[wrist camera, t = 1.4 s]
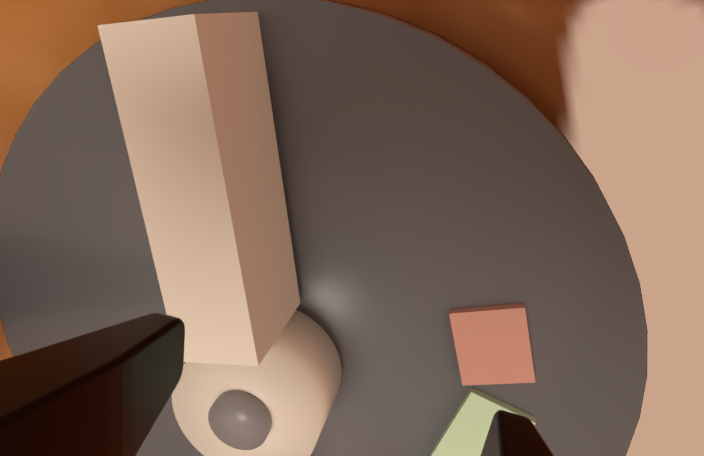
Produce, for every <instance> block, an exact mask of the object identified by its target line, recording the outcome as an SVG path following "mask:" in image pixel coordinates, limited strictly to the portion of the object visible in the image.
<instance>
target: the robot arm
mask: <svg viewBox="0 0 704 456" xmlns="http://www.w3.org/2000/svg"><path fill="white" fill-rule="evenodd" d="M184 341H185V325H184V322H183V321H182V320H181V319H180V318H177V317H173V316H170V315H166V314H163V313H159V312H154V313H150V314H147V315H144V316H141V317H138V318H135V319H131V320H128V321H125V322H122V323H119V324H116V325H112V326H109V327H106V328H103V329H100V330H97V331H93V332H90V333H87V334H84V335H81V336H77V337H74V338H71V339H68V340H65V341H62V342H58V343H55V344H52V345H49V346H46V347H43V348H39V349H36V350H33V351H30V352H27V353H24V354H20V355H17V356H14V357H11V358H8V359H5V360H1V361H0V456H136V454H137V452H138V451H139V449H140V447H141V446H142V444H143V442H144V441H145V439H146V437H147V435H148V434H149V432H150V430H151V429H152V427H153V425H154V424H155V422H156V420H157V418H158V417H159V415H160V413H161V412H162V410H163V408H164V407H165V405H166V403H167V401H168V400H169V398H170V396H171V395H172V393H173V391H174V390H175V388H176V386H177V384H178V382H179V380H180V378H181V375H182V371H183V363H184ZM481 456H554V455H553V453H552V452H551V450H550V449H549V447H548V446H547V444H546V443H545V441H544V440H543V438H542V437H541V435H540V433H539V432H538V430H537V429H536V427H535V426H534V424H533V423H532V422H531V420H530V419H529V418H527V417H525V416H521V415H518V414H514V413H511V412H507V411H504V410H498V411H497V412H496V413H495V414H494V416H493V419H492V422H491V425H490V428H489V431H488V434H487V437H486V440H485V443H484V446H483V450H482V453H481Z"/></svg>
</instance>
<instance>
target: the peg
mask: <svg viewBox="0 0 704 456" xmlns="http://www.w3.org/2000/svg"><path fill="white" fill-rule="evenodd" d="M97 26H98V30H99V34H100V38H101V42H102V46H103V51H104V55H105V59H106V63H107V67H108V72H109V76H110V80H111V84H112V88H113V92H114V97H115V101H116V105H117V109H118V113H119V118H120V122H121V126H122V130H123V134H124V139H125V143H126V147H127V151H128V155H129V159H130V164H131V168H132V172H133V176H134V180H135V185H136V189H137V193H138V197H139V201H140V205H141V210H142V214H143V218H144V222H145V226H146V231H147V235H148V239H149V243H150V247H151V252H152V256H153V260H154V264H155V268H156V272H157V277H158V281H159V285H160V289H161V293H162V298H163V302H164V306H165V310H166V314H167V315H170V316H173V317H177V318H180V319H181V320H182V321H183V322H184V325H185V341H184V362H186V363H185V364H184V365H183V371H182V375H181V378H180V380H179V382H178V384H177V386H176V388H175V390H174V391H173V393H172V406H173V411H174V414H175V417H176V420H177V422H178V424H179V426H180V428H181V430H182V432H183V433H184V435H185V436H186V437H187V439H188V440H189V441H190V443H191V444H192V445H193V446H194V447H195V448H196V449H197V450H198V451H199V452H200V453H201V454H203V455H204V456H310V455H311V454H312V452H313V449H314V447H315V445H316V443H317V440H318V438H319V435H320V433H321V431H322V428H323V426H324V423H325V421H326V419H327V416H328V414H329V412H330V409H331V407H332V404H333V402H334V400H335V397H336V395H337V392H338V390H339V387H340V383H341V377H342V368H341V362H340V357H339V355H338V352H337V349H336V347H335V345H334V343H333V342H332V340H331V339H330V337H329V336H328V334H327V333H326V332H325V331H324V330H323V328H322V327H320V326H319V325H318V324H317V323H316V322H315V321H314V320H312V319H311V318H310V317H308V316H307V315H305V314H303V313H302V312H300V311H298V310H296V309H297V308H298V306H299V305H300V297H299V290H298V283H297V276H296V270H295V263H294V256H293V249H292V242H291V236H290V229H289V222H288V215H287V208H286V202H285V195H284V188H283V181H282V174H281V167H280V161H279V154H278V147H277V140H276V133H275V127H274V120H273V113H272V106H271V99H270V93H269V86H268V79H267V72H266V65H265V59H264V52H263V45H262V38H261V31H260V25H259V18H258V12H235V13H209V14H190V15H182V16H173V17H165V18H156V19H148V20H139V21H131V22H122V23H114V24H105V25H97Z"/></svg>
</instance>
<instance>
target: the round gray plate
mask: <svg viewBox="0 0 704 456" xmlns="http://www.w3.org/2000/svg"><path fill="white" fill-rule="evenodd" d="M235 12H258V18H259V25H260V31H261V38H262V45H263V52H264V59H265V65H266V72H267V79H268V86H269V93H270V99H271V106H272V113H273V120H274V127H275V133H276V140H277V147H278V154H279V161H280V167H281V174H282V181H283V188H284V195H285V202H286V208H287V215H288V222H289V229H290V236H291V242H292V249H293V256H294V263H295V270H296V276H297V283H298V290H299V297H300V305H299V306H298V308H297V309H296V310H298V311H300V312H302V313H303V314H305V315H307V316H308V317H310V318H311V319H312V320H314V321H315V322H316V323H317V324H318V325H319V326H320V327H322V328H323V330H324V331H325V332H326V333H327V334H328V336H329V337H330V339H331V340H332V342H333V343H334V345H335V347H336V349H337V352H338V355H339V357H340V362H341V368H342V377H341V383H340V387H339V390H338V392H337V395H336V397H335V400H334V402H333V404H332V407H331V409H330V412H329V414H328V416H327V419H326V421H325V423H324V426H323V428H322V431H321V433H320V435H319V438H318V440H317V443H316V445H315V447H314V449H313V452H312V454H311V455H310V456H481V453H482V450H483V446H484V443H485V440H486V437H487V434H488V431H489V428H490V425H491V422H492V419H493V416H494V414H495V413H496V412H497V411H498V410H504V411H507V412H511V413H514V414H518V415H521V416H525V417H527V418H529V419H530V420H531V422H532V423H533V424H534V426H535V427H536V429H537V430H538V432H539V433H540V435H541V437H542V438H543V440H544V441H545V443H546V444H547V446H548V447H549V449H550V450H551V452H552V453H553V455H554V456H626V454H627V451H628V448H629V446H630V442H631V440H632V437H633V435H634V432H635V429H636V426H637V423H638V421H639V418H640V413H641V407H642V401H643V396H644V390H645V384H646V378H647V325H646V319H645V313H644V307H643V300H642V294H641V288H640V283H639V280H638V277H637V274H636V271H635V268H634V265H633V262H632V258H631V256H630V253H629V249H628V247H627V244H626V240H625V237H624V235H623V233H622V231H621V229H620V227H619V225H618V223H617V221H616V219H615V217H614V215H613V213H612V212H611V209H610V207H609V205H608V204H607V202H606V200H605V198H604V196H603V194H602V192H601V190H600V188H599V186H598V184H597V183H596V181H595V179H594V177H593V175H592V174H591V173H590V171H589V170H588V168H587V167H586V166H585V164H584V163H583V161H582V160H581V159H580V157H579V156H578V154H577V153H576V152H575V150H574V149H573V147H572V146H571V145H570V143H569V142H568V140H567V139H566V138H565V136H564V135H563V134H562V133H561V132H560V131H559V130H558V128H557V127H556V126H555V125H554V124H553V123H552V122H551V121H550V120H549V119H548V118H547V117H546V116H545V115H544V114H543V113H542V112H541V111H540V110H539V109H538V108H537V107H536V105H535V104H534V103H533V102H532V101H531V100H530V99H529V98H528V97H527V96H526V95H524V94H523V93H522V92H521V91H519V90H518V89H517V88H516V87H514V86H513V85H512V84H511V83H509V82H508V81H507V80H505V79H504V78H503V77H502V76H500V75H499V74H498V73H497V72H495V71H494V70H493V69H491V68H490V67H489V66H488V65H486V64H485V63H484V62H482V61H480V60H479V59H477V58H475V57H474V56H472V55H470V54H468V53H467V52H465V51H463V50H462V49H460V48H458V47H456V46H455V45H453V44H451V43H450V42H448V41H446V40H444V39H443V38H441V37H439V36H438V35H436V34H433V33H431V32H428V31H426V30H423V29H421V28H418V27H416V26H414V25H411V24H409V23H406V22H404V21H401V20H399V19H396V18H394V17H392V16H389V15H387V14H383V13H379V12H375V11H371V10H367V9H363V8H359V7H355V6H351V5H347V4H343V3H339V2H335V1H325V0H209V1H204V2H199V3H194V4H190V5H185V6H180V7H175V8H171V9H168V10H166V11H163V12H160V13H158V14H155V15H153V16H150V17H147V18H145V19H142V20H148V19H156V18H165V17H173V16H182V15H190V14H209V13H235ZM154 312H159V313H163V314H166V310H165V306H164V302H163V298H162V293H161V289H160V285H159V281H158V277H157V272H156V268H155V264H154V260H153V256H152V252H151V247H150V243H149V239H148V235H147V231H146V226H145V222H144V218H143V214H142V210H141V205H140V201H139V197H138V193H137V189H136V185H135V180H134V176H133V172H132V168H131V164H130V159H129V155H128V151H127V147H126V143H125V139H124V134H123V130H122V126H121V122H120V118H119V113H118V109H117V105H116V101H115V97H114V92H113V88H112V84H111V80H110V76H109V72H108V67H107V63H106V59H105V55H104V51H103V46H102V42H101V41H100V42H98V43H96V44H95V45H93V46H91V47H90V48H89V49H88V50H87V51H85V52H84V53H83V54H82V55H81V56H79V57H78V58H77V59H76V60H75V61H73V62H72V63H71V64H70V65H69V66H68V67H66V68H65V69H64V70H63V71H62V72H60V74H59V75H58V76H57V77H56V78H55V79H54V81H53V82H52V83H51V84H50V85H49V86H48V88H47V89H46V90H45V91H44V92H43V93H42V95H41V96H40V97H39V98H38V99H37V100H36V102H35V103H34V105H33V106H32V108H31V110H30V111H29V113H28V115H27V116H26V118H25V120H24V121H23V123H22V125H21V126H20V128H19V130H18V131H17V133H16V135H15V137H14V140H13V142H12V145H11V147H10V150H9V152H8V155H7V157H6V160H5V162H4V165H3V167H2V170H1V174H0V318H1V321H2V324H3V328H4V331H5V335H6V338H7V342H8V344H9V347H10V349H11V352H12V354H13V356H17V355H20V354H24V353H27V352H30V351H33V350H36V349H39V348H43V347H46V346H49V345H52V344H55V343H58V342H62V341H65V340H68V339H71V338H74V337H77V336H81V335H84V334H87V333H90V332H93V331H97V330H100V329H103V328H106V327H109V326H112V325H116V324H119V323H122V322H125V321H128V320H131V319H135V318H138V317H141V316H144V315H147V314H150V313H154ZM166 315H167V314H166ZM185 363H186V362H184V363H183V365H184V364H185ZM136 456H204V455H203V454H201V453H200V452H199V451H198V450H197V449H196V448H195V447H194V446H193V445H192V444H191V443H190V441H189V440H188V439H187V437H186V436H185V435H184V433H183V432H182V430H181V428H180V426H179V424H178V422H177V420H176V417H175V414H174V411H173V406H172V395H171V396H170V398H169V400H168V401H167V403H166V405H165V407H164V408H163V410H162V412H161V413H160V415H159V417H158V418H157V420H156V422H155V424H154V425H153V427H152V429H151V430H150V432H149V434H148V435H147V437H146V439H145V441H144V442H143V444H142V446H141V447H140V449H139V451H138V452H137V454H136Z"/></svg>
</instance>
